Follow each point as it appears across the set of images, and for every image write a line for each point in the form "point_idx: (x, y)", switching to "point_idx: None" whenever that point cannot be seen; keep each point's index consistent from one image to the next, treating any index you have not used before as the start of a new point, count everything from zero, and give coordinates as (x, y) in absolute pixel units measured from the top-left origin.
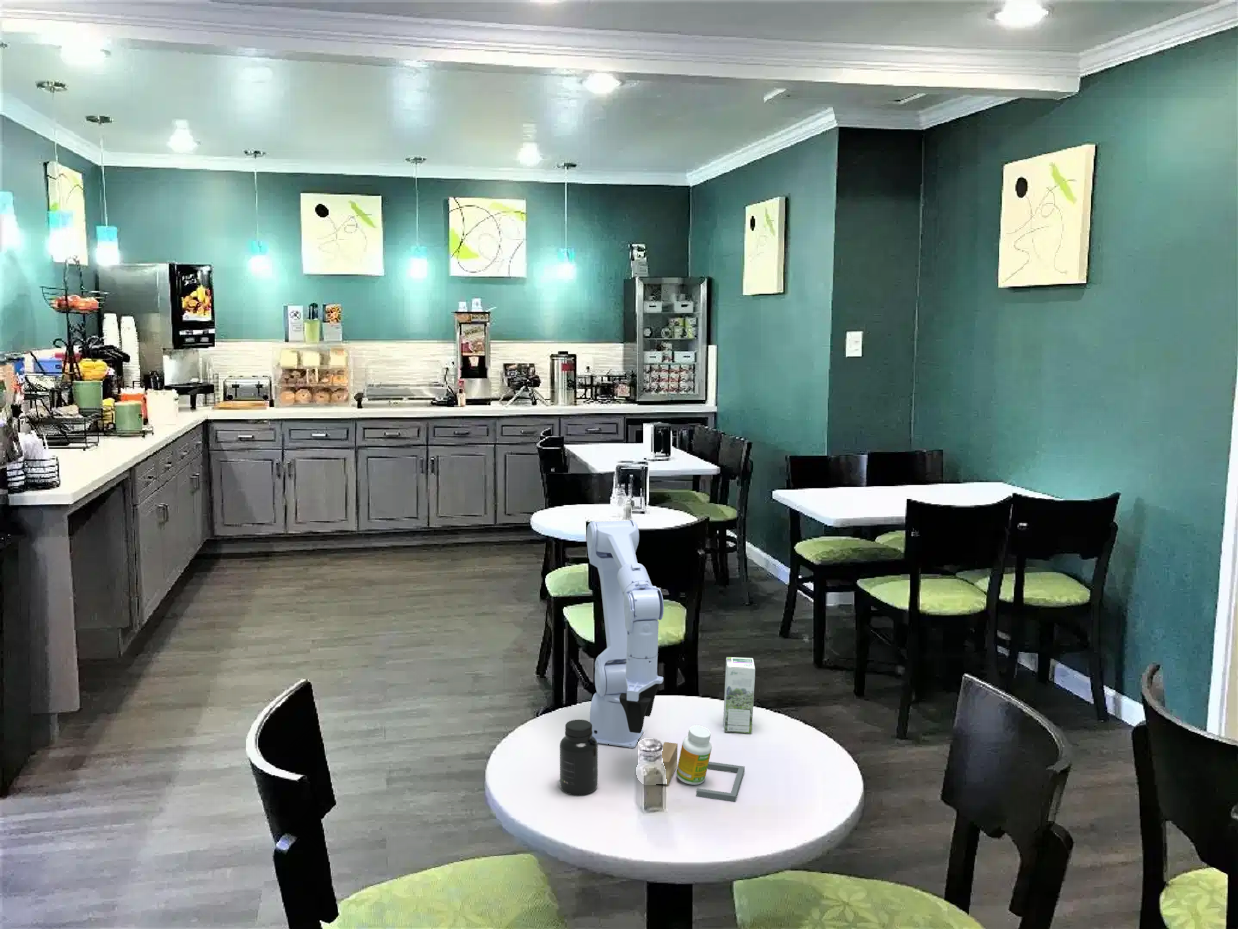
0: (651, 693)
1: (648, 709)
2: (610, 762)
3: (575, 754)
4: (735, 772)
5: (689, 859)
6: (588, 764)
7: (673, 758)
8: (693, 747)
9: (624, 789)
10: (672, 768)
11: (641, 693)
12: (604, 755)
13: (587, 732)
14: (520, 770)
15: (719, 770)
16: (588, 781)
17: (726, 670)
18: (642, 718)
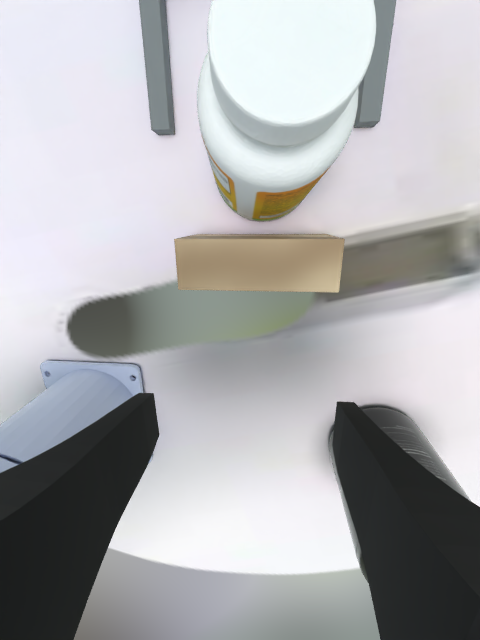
0: (70, 495)
1: (138, 422)
2: (228, 400)
3: None
4: (165, 9)
5: None
6: (458, 485)
7: (251, 237)
8: (350, 105)
9: (363, 344)
10: (265, 235)
11: (91, 540)
12: (198, 418)
13: None
14: (318, 542)
15: (170, 82)
16: (428, 441)
17: None
18: (420, 465)
